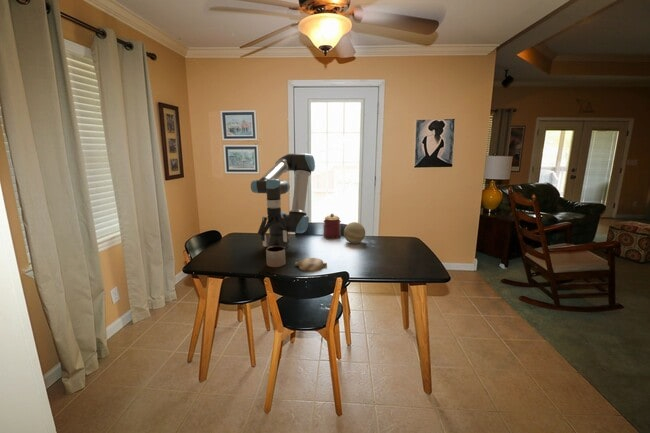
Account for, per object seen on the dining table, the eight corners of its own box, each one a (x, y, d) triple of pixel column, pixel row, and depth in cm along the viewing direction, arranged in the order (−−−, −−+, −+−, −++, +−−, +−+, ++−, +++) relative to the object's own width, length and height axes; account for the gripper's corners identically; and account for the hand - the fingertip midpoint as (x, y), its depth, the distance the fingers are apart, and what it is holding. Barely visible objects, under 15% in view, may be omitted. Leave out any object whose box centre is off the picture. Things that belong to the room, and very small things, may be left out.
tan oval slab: (293, 270, 168) (293, 266, 168) (297, 261, 182) (297, 257, 181) (326, 271, 167) (326, 267, 167) (327, 262, 181) (327, 258, 180)
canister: (322, 238, 228) (322, 215, 224) (325, 233, 241) (325, 211, 237) (339, 239, 226) (339, 215, 222) (341, 234, 238) (341, 212, 235)
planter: (267, 261, 183) (266, 245, 181) (286, 260, 184) (285, 245, 181) (265, 268, 172) (264, 252, 170) (285, 267, 173) (284, 251, 171)
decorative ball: (350, 238, 227) (351, 219, 223) (368, 242, 218) (369, 221, 215) (339, 243, 215) (339, 223, 212) (358, 247, 206) (358, 226, 203)
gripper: (257, 210, 159) (259, 249, 164) (296, 205, 176) (296, 241, 180) (250, 208, 165) (252, 246, 169) (288, 203, 181) (289, 238, 186)
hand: (275, 243), depth 175 cm, fingers open, 13 cm apart
